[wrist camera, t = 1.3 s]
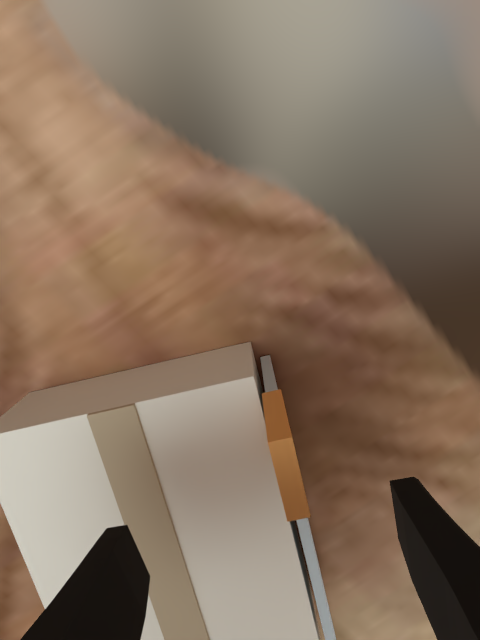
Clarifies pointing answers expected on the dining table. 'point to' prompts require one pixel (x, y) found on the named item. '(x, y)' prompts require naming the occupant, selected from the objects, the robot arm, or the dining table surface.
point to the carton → (162, 494)
